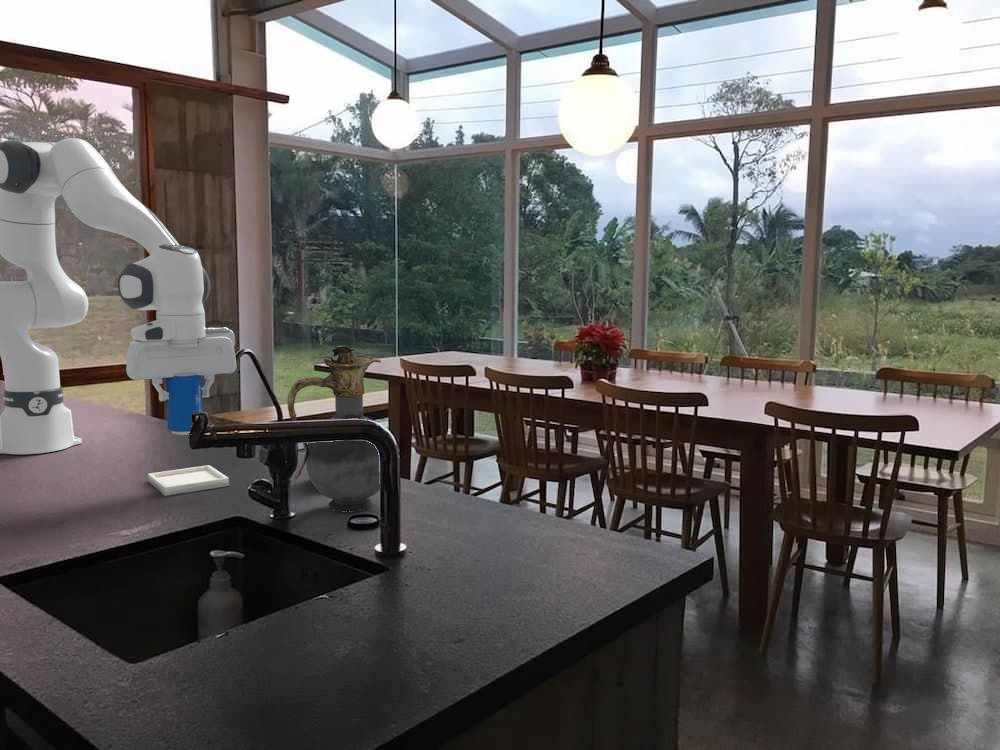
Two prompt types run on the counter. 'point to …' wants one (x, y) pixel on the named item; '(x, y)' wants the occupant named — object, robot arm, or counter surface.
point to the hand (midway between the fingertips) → (184, 398)
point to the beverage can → (183, 402)
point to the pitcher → (342, 464)
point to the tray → (188, 480)
